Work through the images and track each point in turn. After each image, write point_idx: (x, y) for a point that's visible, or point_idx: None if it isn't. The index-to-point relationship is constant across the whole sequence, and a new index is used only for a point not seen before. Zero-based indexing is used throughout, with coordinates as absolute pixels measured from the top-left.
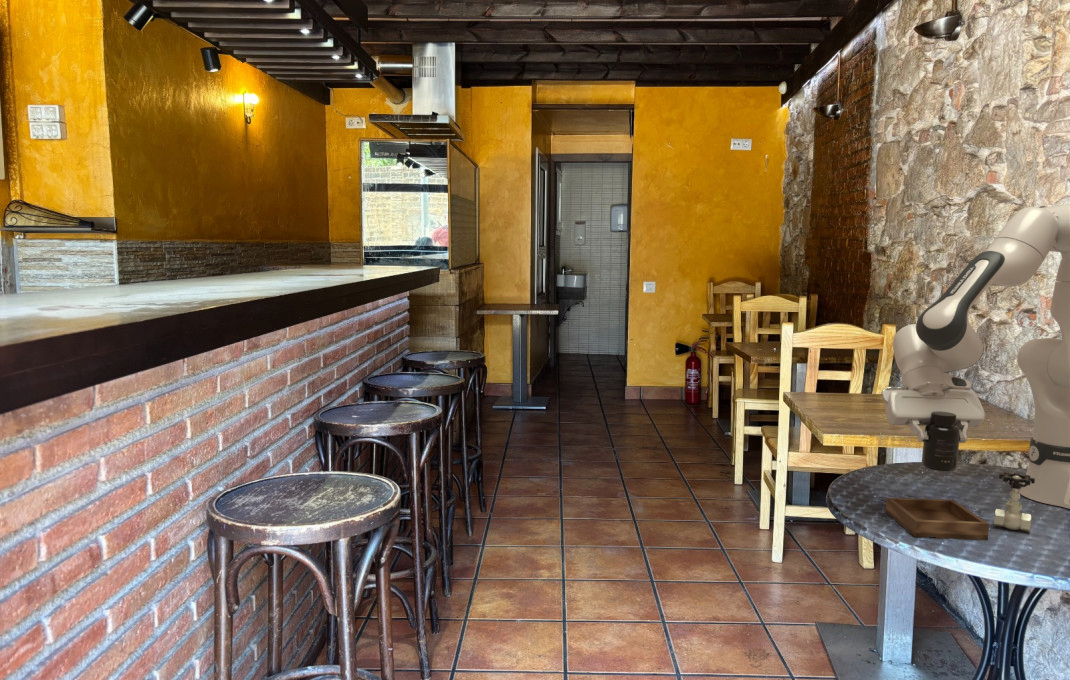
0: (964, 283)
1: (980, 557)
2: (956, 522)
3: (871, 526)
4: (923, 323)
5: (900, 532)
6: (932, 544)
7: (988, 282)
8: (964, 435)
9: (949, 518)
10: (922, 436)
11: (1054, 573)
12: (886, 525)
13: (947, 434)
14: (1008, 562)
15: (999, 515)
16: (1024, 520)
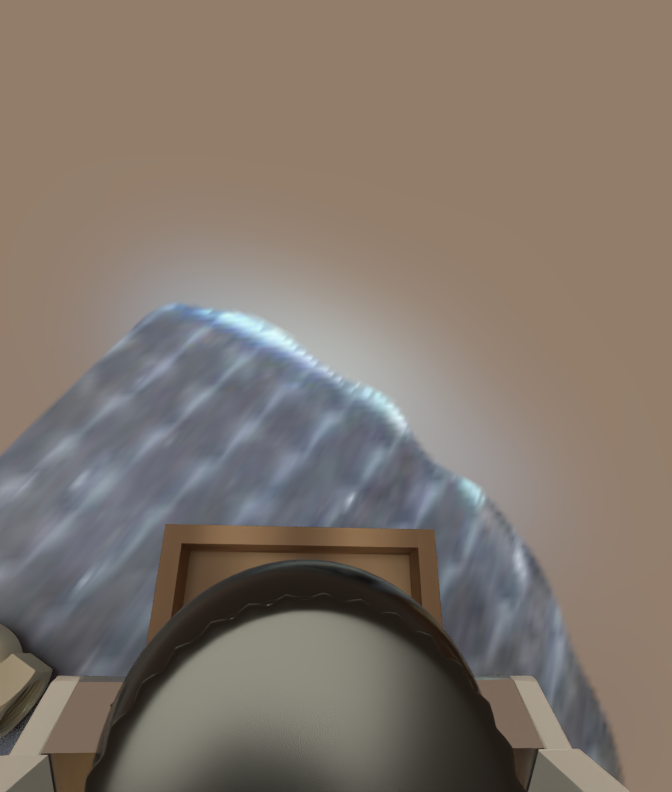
0: None
1: (291, 402)
2: (287, 529)
3: (540, 643)
4: None
5: (453, 587)
6: (386, 486)
7: None
8: (58, 710)
9: None
10: (531, 681)
11: (159, 319)
12: (483, 661)
13: (331, 561)
14: (233, 374)
15: (24, 663)
16: None
